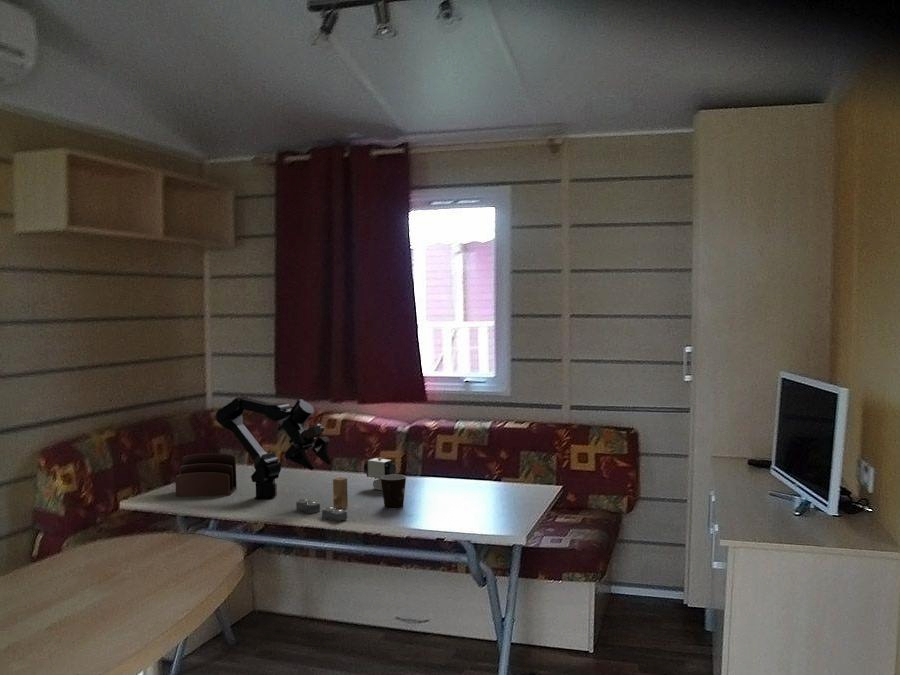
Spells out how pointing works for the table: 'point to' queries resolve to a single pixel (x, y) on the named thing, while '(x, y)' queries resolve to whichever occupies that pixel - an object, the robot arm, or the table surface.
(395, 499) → the coffee mug
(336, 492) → the tall brown post
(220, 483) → the letter holder
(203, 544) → the table surface
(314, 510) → the chain ends
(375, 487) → the pneumatic valve
